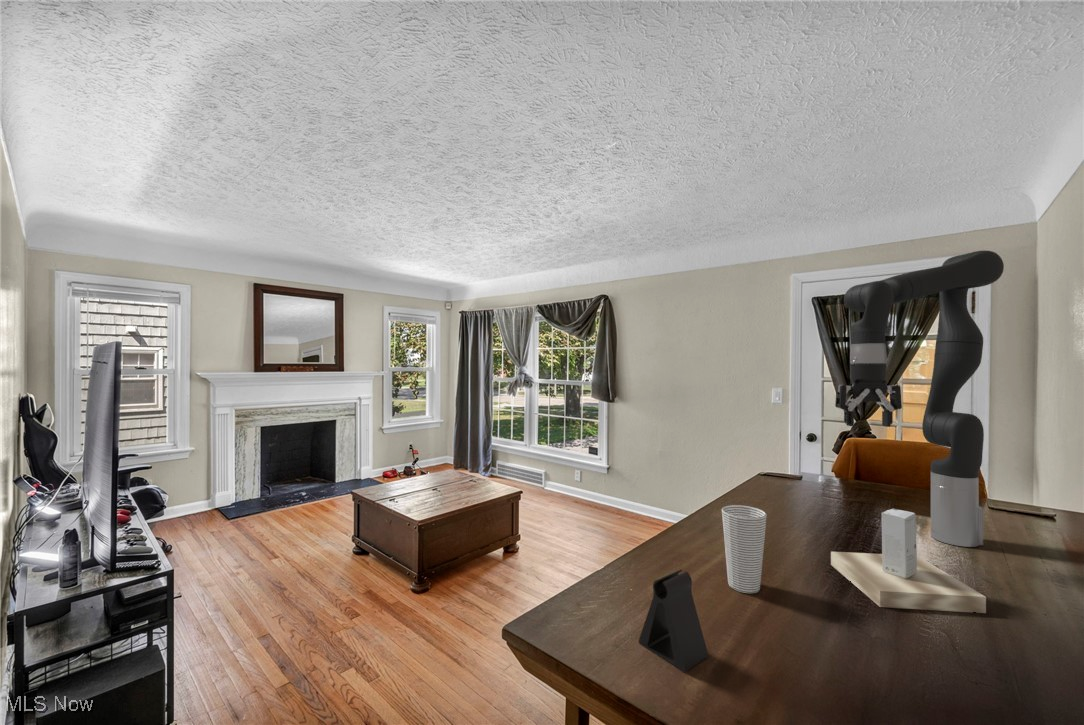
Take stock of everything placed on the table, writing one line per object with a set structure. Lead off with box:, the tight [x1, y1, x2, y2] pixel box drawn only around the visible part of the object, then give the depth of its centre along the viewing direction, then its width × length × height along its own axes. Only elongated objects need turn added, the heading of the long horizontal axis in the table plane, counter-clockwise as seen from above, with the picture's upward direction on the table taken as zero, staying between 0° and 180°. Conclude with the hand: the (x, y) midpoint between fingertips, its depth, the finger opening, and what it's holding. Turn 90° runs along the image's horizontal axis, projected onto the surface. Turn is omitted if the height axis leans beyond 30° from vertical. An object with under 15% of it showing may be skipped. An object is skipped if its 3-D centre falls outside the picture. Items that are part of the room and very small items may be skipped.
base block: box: [830, 551, 987, 614], centre depth 93 cm, size 18×18×3 cm
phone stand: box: [638, 568, 709, 673], centre depth 72 cm, size 9×6×12 cm, turn 36°
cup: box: [721, 504, 767, 594], centre depth 93 cm, size 8×8×16 cm
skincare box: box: [881, 508, 918, 579], centre depth 93 cm, size 6×4×12 cm
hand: (867, 426), depth 114 cm, fingers open, 8 cm apart
